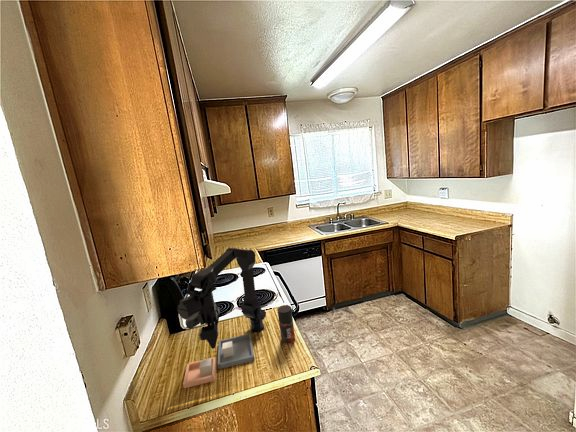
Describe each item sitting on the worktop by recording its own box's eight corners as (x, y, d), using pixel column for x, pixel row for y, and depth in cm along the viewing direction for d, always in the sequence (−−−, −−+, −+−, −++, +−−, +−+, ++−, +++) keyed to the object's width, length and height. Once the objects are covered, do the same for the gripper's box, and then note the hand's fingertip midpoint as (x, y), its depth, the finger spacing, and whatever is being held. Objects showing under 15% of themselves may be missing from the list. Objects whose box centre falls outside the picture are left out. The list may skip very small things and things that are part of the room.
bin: (219, 345, 119) (218, 340, 119) (251, 338, 122) (250, 333, 122) (218, 370, 104) (217, 365, 104) (254, 361, 107) (253, 356, 106)
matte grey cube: (202, 369, 105) (200, 360, 104) (212, 367, 105) (211, 358, 105) (201, 377, 101) (199, 367, 100) (212, 374, 102) (210, 365, 101)
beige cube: (224, 351, 114) (222, 343, 113) (233, 349, 115) (232, 340, 114) (223, 357, 110) (222, 349, 109) (233, 355, 111) (232, 346, 110)
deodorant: (286, 346, 113) (282, 314, 111) (278, 340, 118) (274, 309, 116) (297, 340, 117) (294, 308, 114) (289, 334, 122) (286, 303, 119)
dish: (188, 368, 107) (187, 363, 106) (216, 362, 109) (215, 356, 109) (184, 389, 96) (182, 383, 96) (215, 381, 99) (214, 376, 98)
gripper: (188, 298, 110) (195, 332, 113) (180, 323, 92) (189, 362, 95) (215, 292, 112) (222, 325, 116) (213, 315, 94) (221, 354, 98)
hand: (214, 340), depth 106 cm, fingers open, 9 cm apart
